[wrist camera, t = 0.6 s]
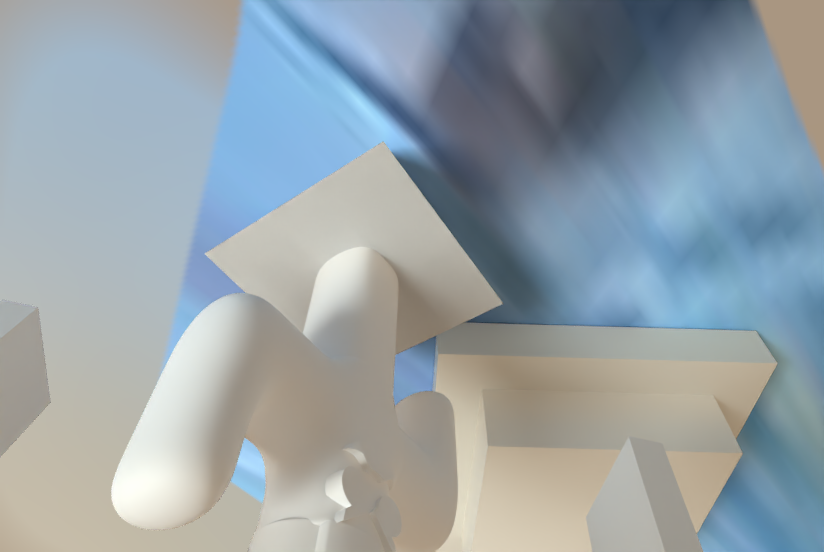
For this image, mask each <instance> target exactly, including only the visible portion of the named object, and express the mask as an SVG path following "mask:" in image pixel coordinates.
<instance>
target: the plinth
mask: <svg viewBox="0 0 824 552" xmlns="http://www.w3.org/2000/svg"><path fill="white" fill-rule="evenodd" d="M777 364H778V363H777V362H776V360H775V359H774V357H773V356H772V354H771V353H770V351H769V350H768V348H767V347H766V345H765V344H764V342H763V341H762V339H761V338H760V336H759V335H758V333H757V332H756V331H745V330H710V329H674V328H639V327H604V326H568V325H533V324H498V323H462V324H459V325H457V326H455V327H453V328H451V329H449V330H447V331H445V332H443V333H440V334H438V335H436V346H435V361H434V376H433V391H435V392H438V393H441V394H443V395H445V396H446V397H447V398H448V399H449V400H450V402H451V404H452V407H453V410H454V419H455V437H456V456H457V474H458V502H457V511H456V517H455V522H454V525H453V528H452V531H451V533H450V535H449V537H448V539H447V540H446V542H445V543H444V544H443V545H442V546H441V547H440V548H439V549H438V550H436V551H435V552H592V546H591V541H590V536H589V531H588V526H587V521H586V516H587V514H588V512H589V510H590V509H591V507H592V505H593V503H594V501H595V499H596V497H597V495H598V493H599V491H600V490H601V488H602V486H603V484H604V482H605V480H606V478H607V476H608V474H609V472H610V471H611V469H612V467H613V465H614V463H615V461H616V459H617V457H618V455H619V453H620V452H621V450H622V448H623V446H624V444H625V442H626V440H627V438H628V436H631V437H636V438H640V439H645V440H649V441H654V442H658V443H662V444H663V446H664V449H665V452H666V454H667V457H668V460H669V462H670V465H671V468H672V470H673V473H674V475H675V478H676V481H677V483H678V486H679V489H680V491H681V494H682V497H683V499H684V502H685V505H686V507H687V510H688V513H689V515H690V518H691V521H692V523H693V526H694V528H695V531H696V534H697V533H698V531H699V529H700V527H701V526H702V524H703V522H704V520H705V519H706V517H707V515H708V513H709V512H710V510H711V508H712V506H713V505H714V503H715V501H716V499H717V498H718V496H719V494H720V492H721V491H722V489H723V487H724V485H725V484H726V482H727V480H728V478H729V477H730V475H731V473H732V471H733V470H734V468H735V466H736V464H737V463H738V461H739V459H740V457H741V456H742V454H743V452H742V450H741V449H740V447H739V445H738V443H737V441H736V438H737V436H738V435H739V433H740V431H741V429H742V427H743V426H744V424H745V422H746V420H747V418H748V416H749V415H750V413H751V411H752V409H753V407H754V405H755V404H756V402H757V400H758V398H759V396H760V395H761V393H762V391H763V389H764V387H765V385H766V384H767V382H768V380H769V378H770V376H771V375H772V373H773V371H774V369H775V367H776V365H777Z"/></svg>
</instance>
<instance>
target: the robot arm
mask: <svg viewBox="0 0 824 552" xmlns="http://www.w3.org/2000/svg"><path fill="white" fill-rule="evenodd" d="M48 404H50V394H49V386H48V379H47V372H46V364H45V357H44V349H43V341H42V333H41V326H40V318H39V311H38V307H35V306H30V305H26V304H21V303H16V302H12V301H7V300H1V301H0V457H1V456H2V455H3V454H4V453H5V452H6V450H7V449H8V448H9V447H10V446H11V445H12V444H13V443H14V442H15V441H16V440H17V438H18V437H19V436H20V435H21V434H22V433H23V432H24V431H25V430H26V429H27V428H28V426H29V425H30V424H31V423H32V422H33V421H34V420H35V419H36V418H37V417H38V416H39V414H40V413H41V412H42V411H43V410H44V409H45V408H46V407H47V406H48ZM586 521H587V526H588V531H589V536H590V541H591V546H592V552H703V550H702V547H701V544H700V542H699V539H698V536H697V534H696V531H695V528H694V526H693V523H692V521H691V518H690V515H689V513H688V510H687V507H686V505H685V502H684V499H683V497H682V494H681V491H680V489H679V486H678V483H677V481H676V478H675V475H674V473H673V470H672V468H671V465H670V462H669V460H668V457H667V454H666V452H665V449H664V446H663V444H662V443H658V442H654V441H649V440H645V439H640V438H636V437H631V436H628V438H627V440H626V442H625V444H624V446H623V448H622V450H621V452H620V453H619V455H618V457H617V459H616V461H615V463H614V465H613V467H612V469H611V471H610V472H609V474H608V476H607V478H606V480H605V482H604V484H603V486H602V488H601V490H600V491H599V493H598V495H597V497H596V499H595V501H594V503H593V505H592V507H591V509H590V510H589V512H588V514H587V516H586Z"/></svg>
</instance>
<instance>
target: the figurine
mask: <svg viewBox="0 0 824 552" xmlns="http://www.w3.org/2000/svg"><path fill="white" fill-rule="evenodd" d="M205 255H206V256H207V257H209V258H210V259H211V260H212V261H213V262H214V263H215V264H216V265H217V266H218V267H219V268H220V269H221V270H222V271H223V272H224V273H225V274H226V275H227V276H229V277H230V278H231V279H232V280H233V281H234V282H235V283H236V284H237V285H238V286H239V287H240V288H241V289H242V290H243V291H244V292H245V293H235V294H230V295H226V296H224V297H222V298H220V299H218V300H216V301H214V302H213V303H211V304H210V305H208V306H207V307H206V308H205V309H204V310H203V311H202V312H201V313H200V314H199V315H198V316H197V317H196V318H195V319H194V320H193V321H192V323H191V324H190V325H189V327H188V328H187V329H186V331H185V332H184V334H183V335H182V337H181V338H180V340H179V342H178V343H177V345H176V347H175V349H174V350H173V352H172V354H171V356H170V358H169V360H168V362H167V364H166V366H165V368H164V370H163V372H162V374H161V376H160V379H159V381H158V383H157V385H156V387H155V389H154V391H153V393H152V395H151V397H150V399H149V402H148V404H147V406H146V408H145V410H144V412H143V414H142V416H141V418H140V420H139V423H138V425H137V427H136V429H135V431H134V433H133V435H132V437H131V439H130V441H129V443H128V446H127V448H126V450H125V452H124V454H123V456H122V458H121V461H120V463H119V466H118V468H117V471H116V474H115V476H114V479H113V483H112V489H111V495H112V503H113V506H114V508H115V510H116V512H117V513H118V514H119V516H120V517H121V518H122V519H124V520H125V521H126V522H128V523H129V524H131V525H133V526H135V527H139V528H143V529H148V530H166V529H173V528H177V527H180V526H183V525H186V524H188V523H190V522H192V521H194V520H196V519H198V518H200V517H201V516H202V515H204V514H205V513H206V512H208V511H209V510H210V509H211V508H212V507H213V506H214V505H215V504H216V503H217V502H218V501H219V500H220V498H221V497H222V495H223V494H224V492H225V490H226V488H227V487H228V485H229V483H230V481H231V478H232V476H233V473H234V470H235V467H236V464H237V461H238V457H239V454H240V451H241V447H242V444H243V441H244V438H246V439H248V440H249V441H250V442H251V443H253V444H254V445H255V446H256V447H257V449H258V450H259V451H260V453H261V455H262V458H263V461H264V465H265V477H266V489H265V495H264V500H263V504H262V508H261V513H260V516H259V520H258V524H257V528H256V531H255V534H254V535H253V537H252V540H251V542H250V545H249V549H248V552H435V551H436V550H438V549H439V548H440V547H441V546H442V545H443V544H444V543H445V542H446V540H447V539H448V537H449V535H450V533H451V531H452V528H453V525H454V522H455V517H456V511H457V502H458V474H457V456H456V437H455V419H454V410H453V407H452V404H451V402H450V400H449V399H448V398H447V397H446V396H445V395H443V394H441V393H438V392H435V391H424V392H419V393H415V394H412V395H410V396H408V397H406V398H404V399H403V400H401V401H400V402H399V403H398V404H397V405H396V406H395V404H394V398H393V384H394V365H395V355H396V354H398V353H400V352H403V351H405V350H407V349H409V348H411V347H413V346H415V345H417V344H419V343H422V342H424V341H426V340H428V339H430V338H432V337H434V336H436V335H438V334H440V333H443V332H445V331H447V330H449V329H451V328H453V327H455V326H457V325H459V324H462V323H464V322H466V321H468V320H470V319H472V318H474V317H476V316H478V315H480V314H483V313H485V312H487V311H489V310H491V309H493V308H495V307H497V306H499V305H502V304H503V302H502V301H501V300H500V298H499V297H498V296H497V294H496V293H495V292H494V290H493V289H492V288H491V286H490V285H489V283H488V282H487V281H486V279H485V278H484V277H483V275H482V274H481V273H480V271H479V270H478V269H477V267H476V266H475V265H474V263H473V262H472V261H471V259H470V258H469V256H468V255H467V254H466V252H465V251H464V250H463V248H462V247H461V246H460V244H459V243H458V242H457V240H456V239H455V238H454V236H453V235H452V233H451V232H450V231H449V229H448V228H447V227H446V225H445V224H444V223H443V221H442V220H441V219H440V217H439V216H438V215H437V213H436V212H435V211H434V209H433V208H432V206H431V205H430V204H429V202H428V201H427V200H426V198H425V197H424V196H423V194H422V193H421V192H420V190H419V189H418V188H417V186H416V185H415V183H414V182H413V181H412V179H411V178H410V177H409V175H408V174H407V173H406V171H405V170H404V169H403V167H402V166H401V165H400V163H399V162H398V161H397V159H396V158H395V156H394V155H393V154H392V152H391V151H390V150H389V148H388V147H387V146H386V144H385V143H384V142H382V143H380V144H378V145H377V146H375V147H374V148H372V149H370V150H369V151H367V152H366V153H364V154H362V155H361V156H359V157H358V158H356V159H354V160H353V161H351V162H350V163H348V164H347V165H345V166H343V167H342V168H340V169H339V170H337V171H335V172H334V173H332V174H331V175H329V176H327V177H326V178H324V179H323V180H321V181H319V182H318V183H316V184H315V185H313V186H312V187H310V188H308V189H307V190H305V191H304V192H302V193H300V194H299V195H297V196H296V197H294V198H292V199H291V200H289V201H288V202H286V203H285V204H283V205H281V206H280V207H278V208H277V209H275V210H273V211H272V212H270V213H269V214H267V215H265V216H264V217H262V218H261V219H259V220H257V221H256V222H254V223H253V224H251V225H250V226H248V227H246V228H245V229H243V230H242V231H240V232H238V233H237V234H235V235H234V236H232V237H230V238H229V239H227V240H226V241H224V242H222V243H221V244H219V245H218V246H216V247H215V248H213V249H211V250H210V251H208V252H207V253H205Z"/></svg>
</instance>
